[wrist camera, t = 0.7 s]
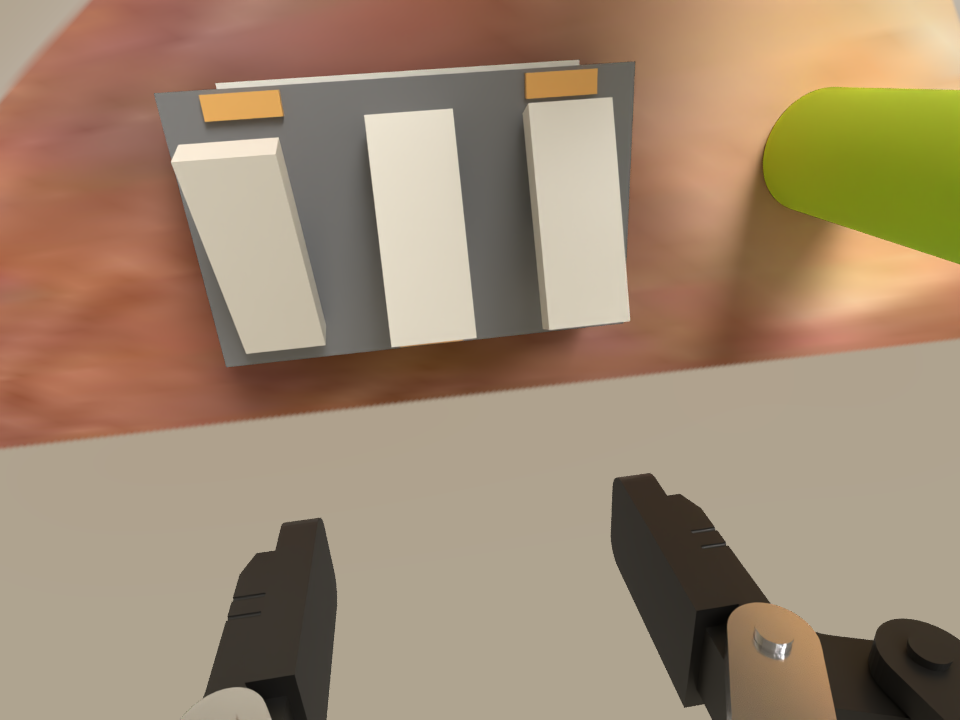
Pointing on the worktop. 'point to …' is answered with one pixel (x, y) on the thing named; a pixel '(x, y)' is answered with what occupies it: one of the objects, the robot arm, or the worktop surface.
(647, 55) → the worktop surface
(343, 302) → the switch box
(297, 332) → the block
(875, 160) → the soap dispenser
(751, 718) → the robot arm
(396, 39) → the worktop surface
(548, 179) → the block
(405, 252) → the block
